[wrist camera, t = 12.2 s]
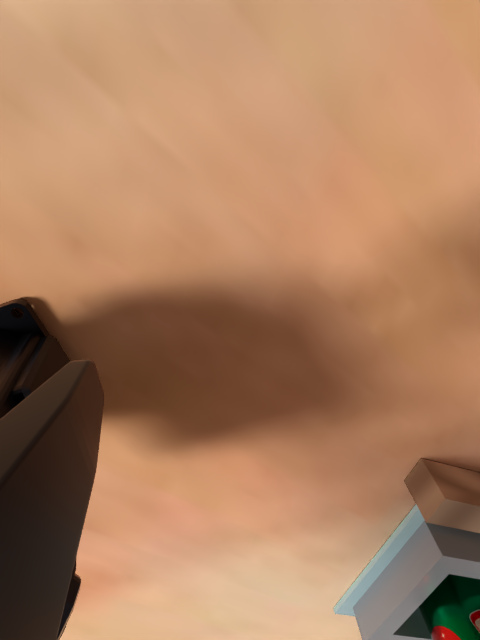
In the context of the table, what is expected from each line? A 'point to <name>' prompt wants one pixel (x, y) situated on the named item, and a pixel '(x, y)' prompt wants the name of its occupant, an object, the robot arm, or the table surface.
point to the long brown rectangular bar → (446, 494)
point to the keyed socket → (408, 578)
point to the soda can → (453, 609)
